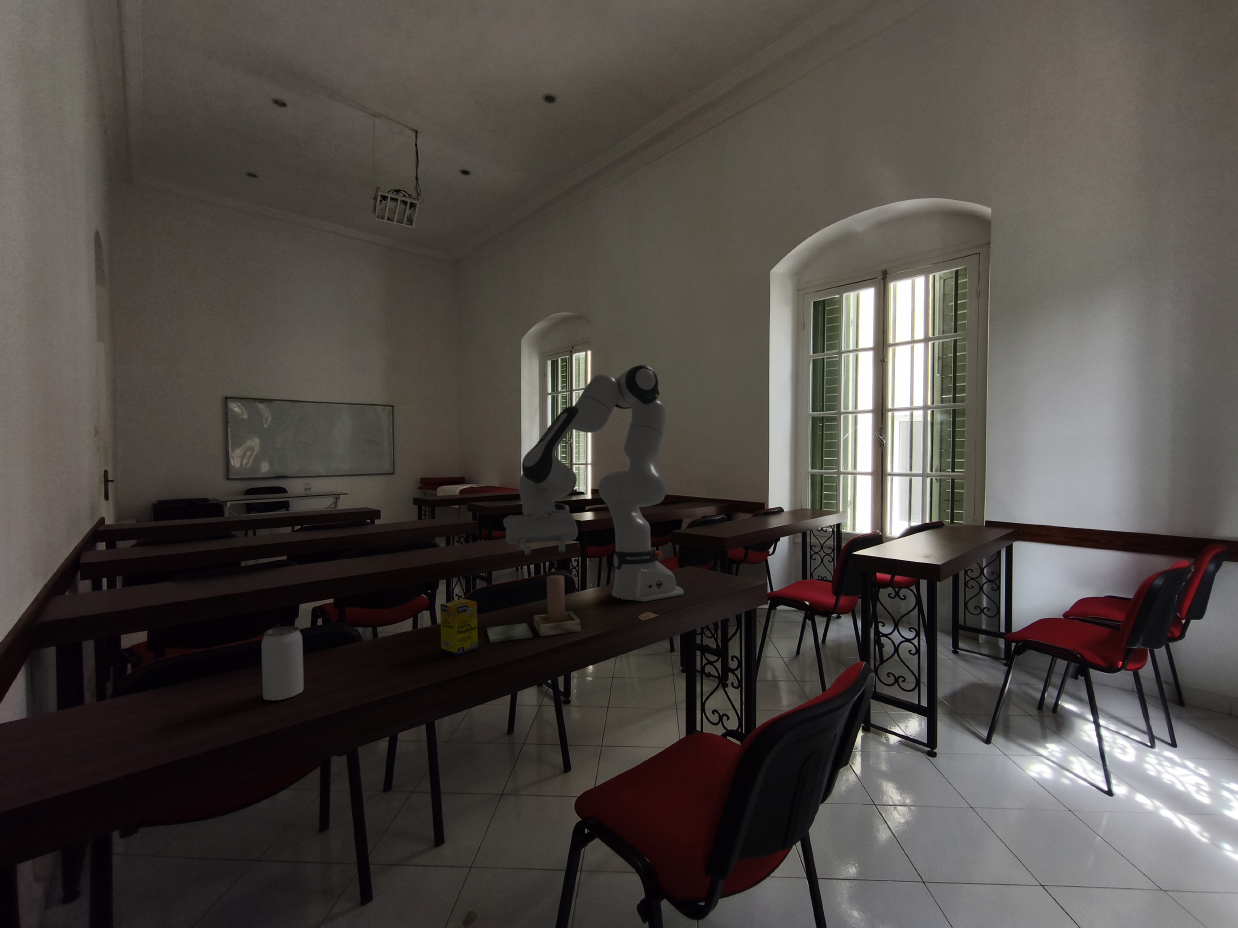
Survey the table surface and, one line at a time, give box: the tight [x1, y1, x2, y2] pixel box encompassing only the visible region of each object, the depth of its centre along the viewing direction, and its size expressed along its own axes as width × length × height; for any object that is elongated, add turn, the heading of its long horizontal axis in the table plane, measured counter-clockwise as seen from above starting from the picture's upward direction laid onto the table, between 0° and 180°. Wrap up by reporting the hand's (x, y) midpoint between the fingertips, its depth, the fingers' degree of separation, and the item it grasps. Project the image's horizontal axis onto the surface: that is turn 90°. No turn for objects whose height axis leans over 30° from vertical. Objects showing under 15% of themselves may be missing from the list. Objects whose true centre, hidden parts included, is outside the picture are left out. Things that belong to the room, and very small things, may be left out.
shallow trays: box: [486, 611, 582, 643], centre depth 138 cm, size 22×10×2 cm, turn 108°
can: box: [261, 625, 304, 701], centre depth 102 cm, size 6×6×12 cm
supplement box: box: [439, 598, 479, 657], centre depth 125 cm, size 6×6×11 cm
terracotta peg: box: [546, 574, 566, 624], centre depth 140 cm, size 4×4×13 cm
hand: (545, 552), depth 152 cm, fingers open, 8 cm apart
